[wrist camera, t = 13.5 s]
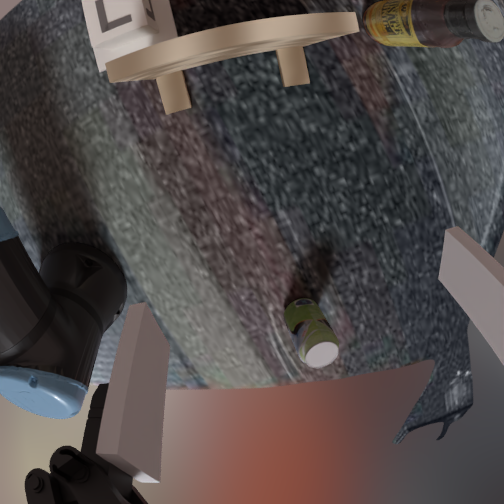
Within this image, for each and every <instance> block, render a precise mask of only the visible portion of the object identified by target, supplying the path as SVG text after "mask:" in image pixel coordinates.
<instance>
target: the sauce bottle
mask: <svg viewBox="0 0 504 504" xmlns="http://www.w3.org/2000/svg"><path fill="white" fill-rule="evenodd" d="M363 23H364V27H365V30H366V32H367V33H368V35H369V36H370V37H371V38H372V39H374V40H375V41H376V42H378V43H380V44H383V45H387V46H417V47H441V48H448V47H453V46H457V45H459V44H460V43H461V42H462V40H463V39H470V38H473V39H480V40H481V41H484V42H493V43H496V42H500V41H501V40H502V39H503V37H504V18H503V16H502V14H501V12H500V10H499V8H498V7H497V5H496V4H495V3H494V2H492V1H491V0H384V1H380V2H376V3H374V4H373V5H371V6H370V7H369V8H368V9H367V10H366V11H365V12H364V16H363Z"/></svg>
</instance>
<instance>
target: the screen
mask: <svg viewBox="0 0 504 504" xmlns="http://www.w3.org/2000/svg"><path fill="white" fill-rule="evenodd" d="M355 32H359V28H358V23H357V18H356V14H355V12H336V13H315V14H302V15H291V16H282V17H274V18H267V19H260V20H253V21H247V22H242V23H236V24H231V25H226V26H222V27H217V28H213V29H208V30H204V31H200V32H196V33H192V34H188V35H185V36H181V37H178V38H174V39H171V40H168V41H164V42H161V43H158V44H155V45H152V46H149V47H146V48H143V49H140V50H137V51H135V52H132V53H129V54H127V55H124V56H121V57H119V58H116V59H114V60H111V61H109V62H107V63H105V66H106V70H107V73H108V77H109V81H110V83H114V82H123V81H134V80H147V79H156V80H157V84H158V87H159V91H160V95H161V98H162V102H163V105H164V109H165V113H166V115H167V114H170V113H174V112H177V111H180V110H184V109H188V108H191V107H192V105H191V101H190V97H189V94H188V90H187V86H186V82H185V78H184V74H183V71H182V70H185V69H189V68H193V67H196V66H200V65H204V64H208V63H212V62H216V61H221V60H225V59H230V58H234V57H239V56H244V55H249V54H255V53H261V52H266V51H273V50H276V55H277V59H278V64H279V69H280V73H281V78H282V83H283V87H287V86H293V85H300V84H307V83H310V81H309V75H308V70H307V65H306V60H305V55H304V50H303V46H307V45H310V44H313V43H317V42H320V41H324V40H328V39H331V38H335V37H339V36H343V35H347V34H351V33H355Z"/></svg>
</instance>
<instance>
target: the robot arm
mask: <svg viewBox="0 0 504 504" xmlns="http://www.w3.org/2000/svg"><path fill="white" fill-rule="evenodd" d="M18 235H19V234H18V232H17V231H15V229H14V228H13V226H12V224H11V223H10V221H9V219H8V217H7V216H6V214H5V212H4V210H3V209H2V208H1V207H0V394H1V395H2V396H3V397H5V398H6V399H7V400H9V401H10V402H12V403H13V404H15V405H17V406H18V407H21V408H22V409H24V410H27V411H29V412H31V413H34V414H37V415H40V416H44V417H49V418H55V419H66V418H71V417H73V416H75V415H76V414H77V413H78V412H79V411H80V409H81V407H82V404H83V400H84V398H85V395H86V394H87V392H88V387H89V383H90V379H91V375H92V371H93V367H94V364H95V360H96V356H97V353H98V349H99V346H100V342H101V339H102V336H103V334H104V332H105V331H106V330H107V329H108V328H109V327H110V326H111V325H112V324H113V322H114V321H115V320H116V319H117V318H118V317H119V315H120V314H121V312H122V310H123V308H124V304H125V301H126V298H127V285H126V281H125V279H124V276H123V274H122V272H121V271H120V269H119V268H118V266H117V265H116V264H115V263H114V261H113V260H112V259H111V258H109V257H108V256H107V255H106V254H104V253H103V252H101V251H100V250H98V249H96V248H94V247H92V246H89V245H86V244H82V243H65V244H61V245H59V246H57V247H55V248H54V249H53V250H51V251H50V253H49V254H48V255H47V257H46V258H45V259H44V261H43V263H42V265H41V267H40V270H39V273H38V271H37V269H36V268H35V266H34V264H33V263H32V261H31V259H30V257H29V255H28V254H27V252H26V250H25V248H24V246H23V244H22V242H21V240H20V238H19V236H18ZM438 279H439V280H440V281H441V282H442V284H443V285H444V286H445V287H446V288H447V290H448V291H449V292H450V293H451V295H452V296H453V297H454V298H455V300H456V301H457V302H458V303H459V305H460V306H461V307H462V308H463V310H464V311H465V312H466V314H467V315H468V316H469V318H470V319H471V320H472V322H473V323H474V324H475V326H476V327H477V328H478V329H479V331H480V332H481V334H482V335H483V336H484V338H485V339H486V341H487V342H488V343H489V345H490V346H491V348H492V349H493V350H494V352H495V353H496V355H497V356H498V358H499V359H500V361H501V362H502V364H503V365H504V268H503V267H502V266H501V265H500V264H499V263H498V262H497V261H496V260H495V259H494V258H493V257H492V256H491V255H490V254H488V253H487V252H486V251H485V250H484V249H483V248H482V247H481V246H480V245H479V244H478V243H476V242H475V241H474V240H473V239H472V238H471V237H470V236H469V235H467V234H466V233H465V232H464V231H463V230H462V229H461V228H459V227H458V226H457V227H454V228H450V229H446V230H445V239H444V246H443V253H442V260H441V266H440V272H439V278H438ZM169 352H170V345H169V343H168V341H167V340H166V338H165V336H164V334H163V333H162V331H161V329H160V327H159V326H158V324H157V322H156V320H155V318H154V317H153V315H152V313H151V311H150V309H149V307H148V306H147V304H146V302H144V303H139V304H134V305H130V306H129V309H128V312H127V316H126V319H125V323H124V327H123V330H122V334H121V338H120V341H119V345H118V349H117V353H116V357H115V361H114V365H113V369H112V374H111V378H110V382H109V383H107V384H99V386H98V388H97V389H96V391H95V393H94V394H93V396H92V400H91V405H90V410H89V414H88V420H87V422H86V427H85V432H84V437H83V442H82V448H81V452H80V451H78V450H77V449H76V448H74V447H71V446H62V447H60V448H58V449H57V450H56V451H55V452H54V453H53V455H52V457H51V459H50V465H49V467H50V471H51V473H50V474H49V473H48V472H46V471H44V470H42V469H40V468H37V469H33V470H31V471H30V472H29V473H28V475H27V476H26V479H25V492H26V497H27V502H28V504H148V503H147V502H146V501H145V499H144V498H143V497H142V495H141V494H140V493H139V492H138V490H137V489H136V488H135V487H134V486H133V485H132V480H133V478H134V479H136V480H138V481H139V482H147V483H160V473H161V451H162V433H163V419H164V405H165V393H166V382H167V372H168V362H169Z"/></svg>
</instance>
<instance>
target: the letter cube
mask: <svg viewBox="0 0 504 504" xmlns="http://www.w3.org/2000/svg"><path fill="white" fill-rule="evenodd" d="M82 5H83V10H84V15H85V19H86V24H87V28H88V32H89V37H90V41H91V45H92V47H95V48H101V49H107V50H112V49H115V48H117V47H120V46H122V45H125V44H127V43H130V42H133V41H135V40H138V39H141V38H144V37H147V36H150V35H152V34H155V33H159V30H158V26H157V22H156V18H155V14H154V10H153V6H152V2H151V0H82Z"/></svg>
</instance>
